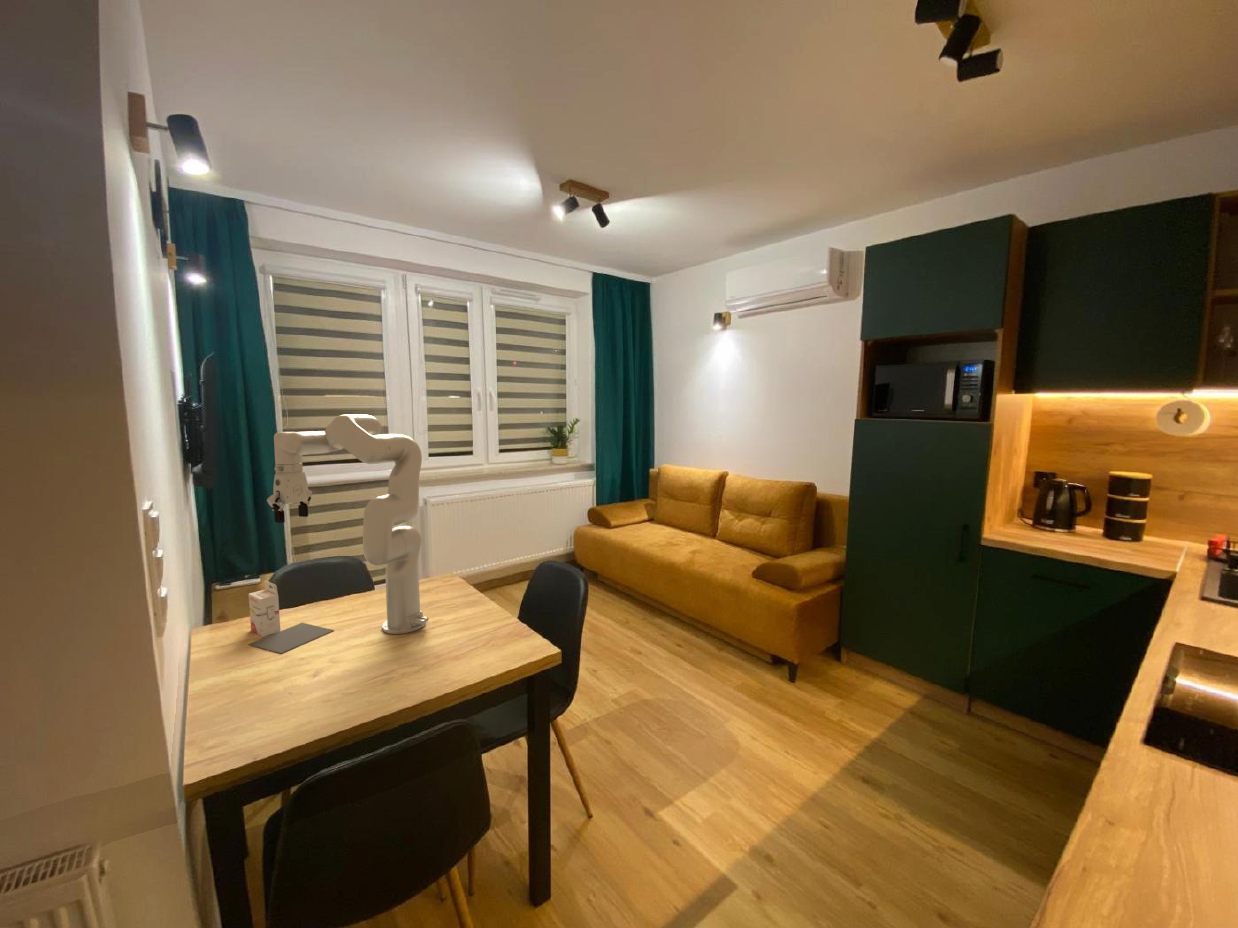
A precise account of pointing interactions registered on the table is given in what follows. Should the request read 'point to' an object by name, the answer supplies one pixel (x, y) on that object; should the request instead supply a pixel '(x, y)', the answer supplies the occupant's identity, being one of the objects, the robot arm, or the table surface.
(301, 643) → the mat
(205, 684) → the table surface
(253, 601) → the ink cartridge box
